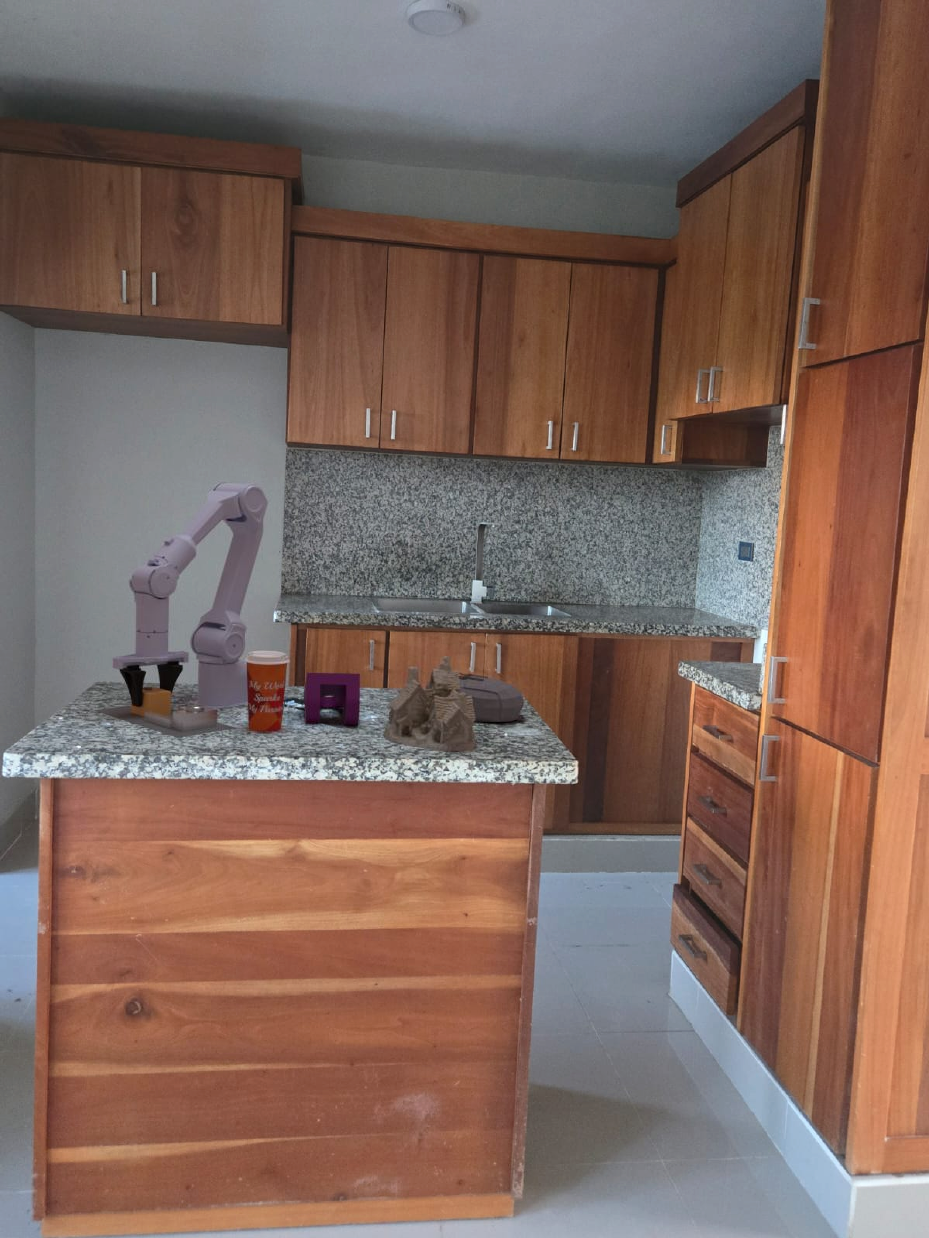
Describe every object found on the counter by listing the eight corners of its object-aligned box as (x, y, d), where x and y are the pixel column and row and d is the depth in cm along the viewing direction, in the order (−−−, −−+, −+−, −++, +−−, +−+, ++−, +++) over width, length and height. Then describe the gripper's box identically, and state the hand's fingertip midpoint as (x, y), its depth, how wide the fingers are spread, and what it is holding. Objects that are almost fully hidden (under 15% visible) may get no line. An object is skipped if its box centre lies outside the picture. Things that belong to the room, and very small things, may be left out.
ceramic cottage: (382, 728, 184) (389, 649, 182) (470, 734, 186) (478, 655, 183) (383, 755, 169) (391, 668, 166) (479, 761, 171) (488, 675, 168)
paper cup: (244, 736, 173) (246, 656, 172) (241, 726, 181) (243, 649, 179) (289, 735, 175) (292, 657, 174) (285, 726, 183) (287, 650, 181)
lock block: (152, 709, 188) (153, 684, 188) (170, 715, 184) (171, 689, 184) (131, 712, 185) (131, 687, 184) (148, 718, 181) (149, 692, 180)
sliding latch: (183, 715, 185) (184, 694, 184) (219, 725, 178) (220, 704, 177) (144, 720, 179) (145, 699, 178) (180, 732, 171) (180, 710, 171)
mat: (151, 705, 194) (151, 702, 194) (236, 731, 177) (236, 727, 177) (94, 713, 185) (94, 710, 185) (177, 740, 168) (177, 737, 168)
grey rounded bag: (414, 717, 197) (512, 729, 191) (416, 675, 196) (515, 686, 190) (440, 704, 211) (532, 715, 205) (442, 665, 210) (534, 674, 204)
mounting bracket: (302, 741, 198) (305, 719, 181) (303, 698, 201) (306, 672, 183) (351, 741, 200) (359, 719, 182) (351, 698, 202) (359, 673, 185)
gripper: (128, 636, 175) (127, 712, 176) (198, 631, 186) (197, 703, 187) (106, 631, 179) (105, 705, 181) (177, 626, 190) (175, 696, 192)
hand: (151, 704), depth 184 cm, fingers open, 5 cm apart
